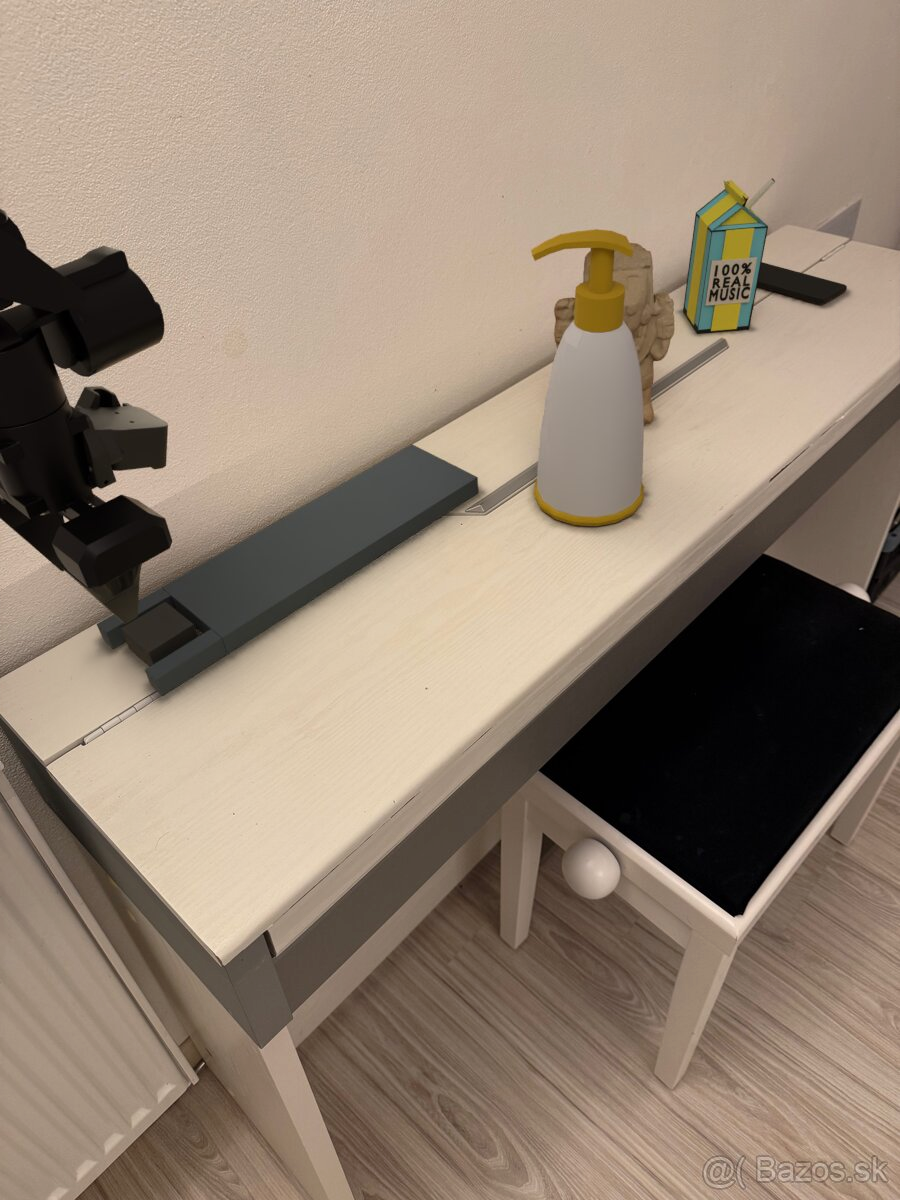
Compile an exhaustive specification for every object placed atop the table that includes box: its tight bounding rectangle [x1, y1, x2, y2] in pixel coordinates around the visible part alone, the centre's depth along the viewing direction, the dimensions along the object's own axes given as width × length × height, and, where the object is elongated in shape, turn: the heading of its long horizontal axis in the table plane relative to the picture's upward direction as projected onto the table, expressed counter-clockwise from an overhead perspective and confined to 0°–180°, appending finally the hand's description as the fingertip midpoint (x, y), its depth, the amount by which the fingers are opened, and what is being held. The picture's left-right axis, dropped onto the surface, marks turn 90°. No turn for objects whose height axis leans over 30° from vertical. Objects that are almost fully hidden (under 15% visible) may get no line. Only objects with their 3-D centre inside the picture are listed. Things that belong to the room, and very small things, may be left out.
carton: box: [682, 177, 776, 335], centre depth 111 cm, size 7×8×18 cm
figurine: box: [553, 242, 675, 424], centre depth 92 cm, size 13×7×20 cm, turn 91°
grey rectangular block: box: [96, 443, 479, 697], centre depth 83 cm, size 38×10×2 cm, turn 135°
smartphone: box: [757, 261, 848, 305], centre depth 123 cm, size 7×1×15 cm
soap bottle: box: [530, 228, 645, 527], centre depth 80 cm, size 11×12×26 cm
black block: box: [121, 602, 199, 667], centre depth 75 cm, size 4×4×2 cm
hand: (97, 592), depth 65 cm, fingers open, 9 cm apart
